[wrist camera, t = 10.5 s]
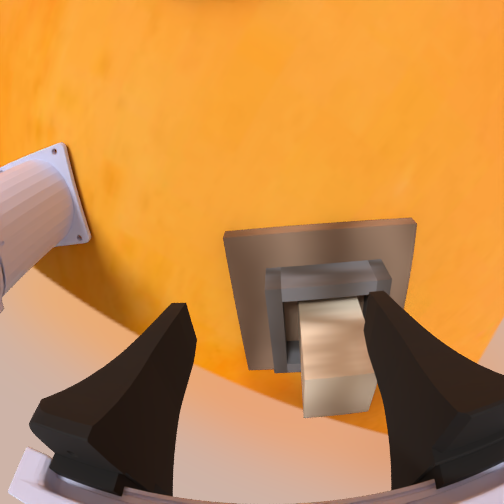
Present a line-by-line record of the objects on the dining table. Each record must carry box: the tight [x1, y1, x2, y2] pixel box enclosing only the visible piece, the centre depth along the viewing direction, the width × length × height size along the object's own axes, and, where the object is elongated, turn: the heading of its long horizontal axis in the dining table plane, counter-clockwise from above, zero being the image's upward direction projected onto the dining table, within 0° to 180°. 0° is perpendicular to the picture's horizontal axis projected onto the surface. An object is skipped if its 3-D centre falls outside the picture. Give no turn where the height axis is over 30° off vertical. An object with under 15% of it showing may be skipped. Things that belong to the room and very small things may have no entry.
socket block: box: [223, 218, 417, 373], centre depth 22 cm, size 13×13×4 cm
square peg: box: [298, 296, 377, 418], centre depth 19 cm, size 4×4×8 cm
